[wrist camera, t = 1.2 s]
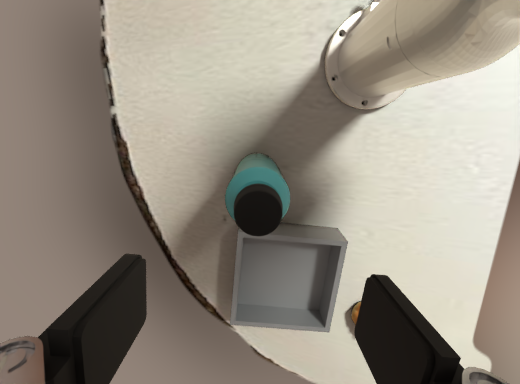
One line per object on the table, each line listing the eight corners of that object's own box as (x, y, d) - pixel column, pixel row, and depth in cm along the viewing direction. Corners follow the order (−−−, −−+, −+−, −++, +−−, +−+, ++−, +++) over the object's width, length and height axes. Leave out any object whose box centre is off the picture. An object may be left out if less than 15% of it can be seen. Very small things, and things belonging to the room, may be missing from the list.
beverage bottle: (230, 184, 39) (204, 240, 20) (244, 144, 38) (231, 161, 18) (269, 198, 40) (281, 265, 20) (284, 159, 38) (313, 191, 19)
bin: (240, 219, 41) (238, 231, 36) (337, 228, 41) (347, 241, 36) (233, 303, 45) (229, 324, 40) (321, 310, 45) (329, 332, 40)
